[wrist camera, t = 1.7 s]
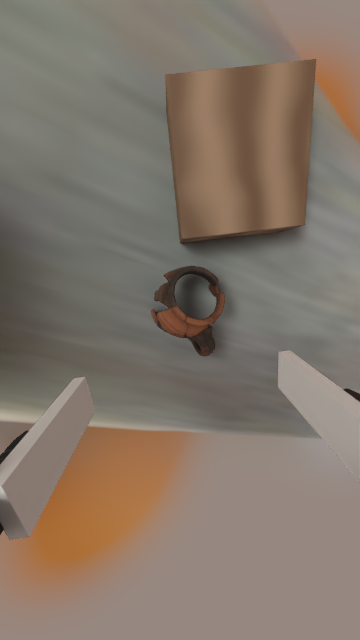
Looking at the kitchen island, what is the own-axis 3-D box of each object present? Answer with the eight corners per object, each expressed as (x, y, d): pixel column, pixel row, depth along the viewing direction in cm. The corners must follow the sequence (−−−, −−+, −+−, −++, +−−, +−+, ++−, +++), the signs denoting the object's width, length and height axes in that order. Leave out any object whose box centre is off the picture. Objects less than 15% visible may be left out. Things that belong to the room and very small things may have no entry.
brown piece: (134, 298, 28) (143, 278, 20) (185, 271, 31) (209, 246, 24) (177, 368, 29) (201, 374, 21) (222, 334, 32) (257, 329, 24)
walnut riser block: (180, 243, 26) (182, 238, 22) (166, 114, 22) (165, 74, 18) (280, 231, 27) (304, 224, 22) (285, 102, 23) (316, 59, 18)
